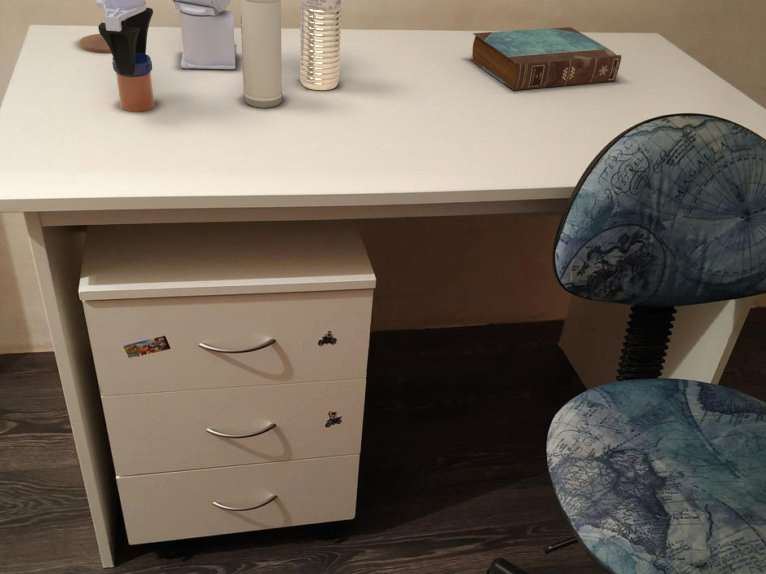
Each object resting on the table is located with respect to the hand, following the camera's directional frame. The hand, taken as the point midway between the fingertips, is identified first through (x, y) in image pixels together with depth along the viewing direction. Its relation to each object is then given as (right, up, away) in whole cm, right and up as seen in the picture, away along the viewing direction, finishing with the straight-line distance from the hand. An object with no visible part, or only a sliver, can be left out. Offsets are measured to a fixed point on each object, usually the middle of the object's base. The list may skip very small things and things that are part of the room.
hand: (132, 66), depth 124 cm
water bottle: (+27, +4, +17) cm, 33 cm away
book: (+69, +12, +32) cm, 77 cm away
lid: (0, +1, -1) cm, 1 cm away
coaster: (-13, +14, +24) cm, 31 cm away
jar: (0, -5, +4) cm, 6 cm away
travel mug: (+19, -2, +10) cm, 21 cm away
